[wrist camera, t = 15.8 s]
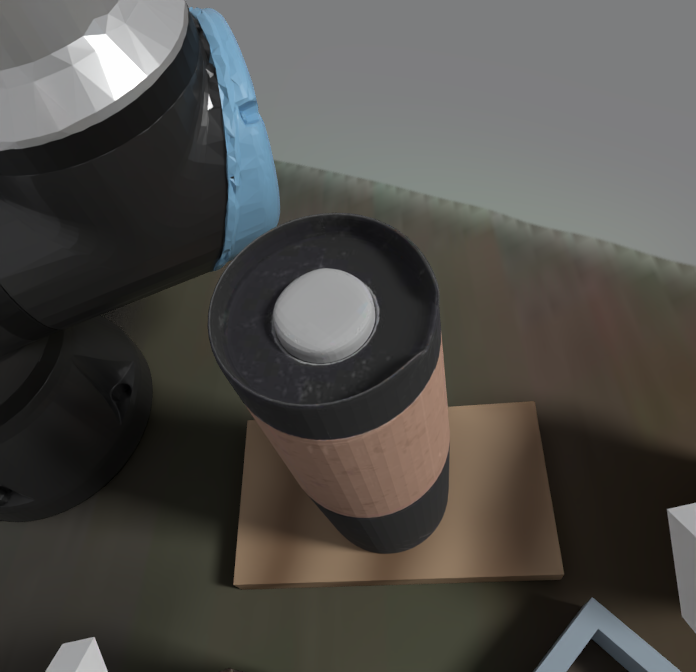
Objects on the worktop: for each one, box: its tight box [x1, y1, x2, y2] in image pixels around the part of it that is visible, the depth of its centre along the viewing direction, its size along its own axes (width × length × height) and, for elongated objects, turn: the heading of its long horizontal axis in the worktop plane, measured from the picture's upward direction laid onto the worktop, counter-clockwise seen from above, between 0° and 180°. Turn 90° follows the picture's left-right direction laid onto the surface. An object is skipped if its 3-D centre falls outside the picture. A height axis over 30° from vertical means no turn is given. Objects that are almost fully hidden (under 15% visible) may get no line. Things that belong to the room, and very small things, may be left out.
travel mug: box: [208, 213, 450, 554], centre depth 28 cm, size 8×8×20 cm
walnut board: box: [233, 401, 564, 590], centre depth 37 cm, size 18×10×2 cm, turn 90°
